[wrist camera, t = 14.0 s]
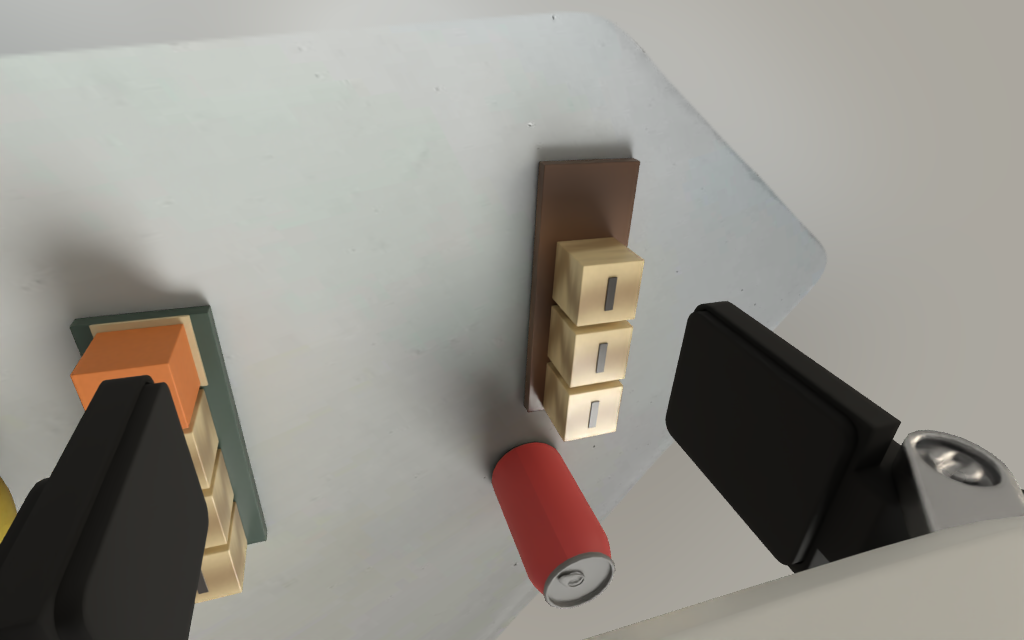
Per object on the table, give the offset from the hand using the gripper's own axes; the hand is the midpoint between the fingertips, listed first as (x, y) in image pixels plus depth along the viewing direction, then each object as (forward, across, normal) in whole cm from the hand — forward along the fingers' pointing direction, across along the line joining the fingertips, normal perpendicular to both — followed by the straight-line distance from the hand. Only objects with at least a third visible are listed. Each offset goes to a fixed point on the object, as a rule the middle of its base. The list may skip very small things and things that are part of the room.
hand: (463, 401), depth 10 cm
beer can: (+26, -12, +29) cm, 41 cm away
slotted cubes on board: (+26, -15, +12) cm, 32 cm away
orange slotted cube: (+25, +13, +13) cm, 31 cm away
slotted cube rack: (+26, +13, +20) cm, 35 cm away
